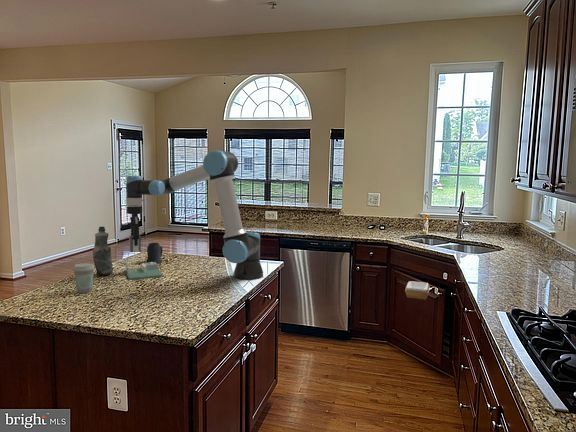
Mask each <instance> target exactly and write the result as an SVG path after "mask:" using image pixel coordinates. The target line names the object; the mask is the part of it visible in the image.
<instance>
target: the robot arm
mask: <svg viewBox="0 0 576 432" xmlns="http://www.w3.org/2000/svg"><path fill="white" fill-rule="evenodd" d="M202 161H203V162H202V165H200V166H198V167H194V168H192V169H189V170H186V171H183V172H181V173H177V174H175V175H173V176H169V177H167V178H165V179H154V180H153V179H143V176H141V175H127V176H126V183H125V186H126V214H128V215H130V216H131V217H130V218H129V220H130V236H133V238H132V240H133V252H132V253H140V252H139V235H140V216H139V215H141V214H143V202H144V199H143V196H145V195H146V196H162V195H169V194H174V192H176V191H178V190H179V191H180V190H182V189H184V188H187V187H190V186H192V185H196V184H198V183H201V182H203V181H207V180H209V179H210V182H211V183H213V185H214V188H215V193H216V195H217V201H218V204H219V209H220V214H221V218H222V219H221V220H222V223H223V228H224V232H225V233H224V235H223V242H224V244H223V246H222V254H223V257H224V258H225V259H226V261H228V262H230V263H231V264H235V267H234V269H233V270H234V271H233V278H235V279H237V280H245V281H252V280H258V279H261V278H263V277H264V270H263V268H262V267H263V266H262V263H261V234H260V233H258V232H252V231H251V232H248V231H247V230H245V229H244V228H243V222H242V218H241V214H240V209H239V205H238V200H237V196H236V190H235V186H234V183H233V179H234V178H235V172H237V169H238V167H239V160H238V157H237V156H236V155H235V153H234V152H232V151H226V150H220V149H217V150H211V151H209V152H208V153H207V154H206V155H205V156H204V158H203V160H202Z"/></svg>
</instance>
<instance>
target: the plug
mask: <svg viewBox="0 0 576 432" xmlns="http://www.w3.org/2000/svg"><path fill="white" fill-rule="evenodd" d="M128 238H129V239H128V240H129V241H128V243H129V244H128V245H129V253H134V252H133V240H132V238H133V236H131V235H129V237H128ZM141 238H142V237H141V235H140V234H139V252H138V253H141V250H142V245H141V243H142V239H141Z"/></svg>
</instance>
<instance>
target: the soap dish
mask: <svg viewBox="0 0 576 432" xmlns="http://www.w3.org/2000/svg"><path fill="white" fill-rule="evenodd" d="M430 287H431V286H430V285H429V283H428V282H422V281H412V280H411V281H408V282H407V284H406V286H405V290H404V292H405V295H406V298H407V299H418V300H423V301H426V300H427V298H428V296H429V292H430Z"/></svg>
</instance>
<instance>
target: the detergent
mask: <svg viewBox="0 0 576 432" xmlns="http://www.w3.org/2000/svg"><path fill="white" fill-rule="evenodd" d="M94 236H95V237H94V239H95V240H94V247H93V249H92V257H93V265H94V268H95V271H96V272H95V273H96V275H98V276H107V275H110V274H112V273H113V271H114V267H113V260H112V248H111V246H109V245H108V240H109V232H106V228H105V226H103V225H102V226H99V227H98V232H96V233H95V234H94Z"/></svg>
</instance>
